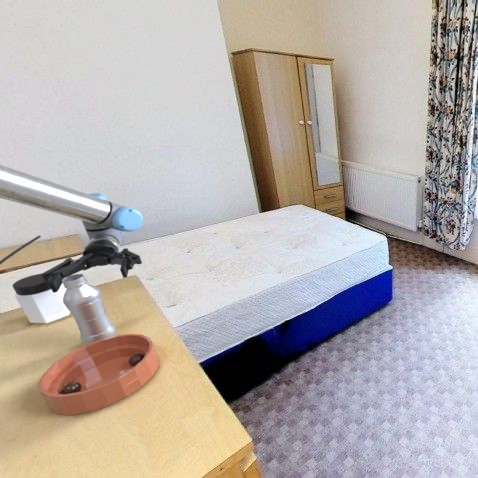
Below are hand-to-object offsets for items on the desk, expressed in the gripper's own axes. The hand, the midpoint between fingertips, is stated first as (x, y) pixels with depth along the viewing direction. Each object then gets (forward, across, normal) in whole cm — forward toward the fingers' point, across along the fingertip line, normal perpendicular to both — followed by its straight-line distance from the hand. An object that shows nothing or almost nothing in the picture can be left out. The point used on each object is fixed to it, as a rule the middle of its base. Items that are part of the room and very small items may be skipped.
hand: (89, 280), depth 85 cm
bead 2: (+25, -8, -14) cm, 30 cm away
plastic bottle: (+10, 0, -14) cm, 18 cm away
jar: (-14, +14, -14) cm, 24 cm away
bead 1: (+28, +2, -13) cm, 31 cm away
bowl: (+27, -3, -14) cm, 30 cm away
